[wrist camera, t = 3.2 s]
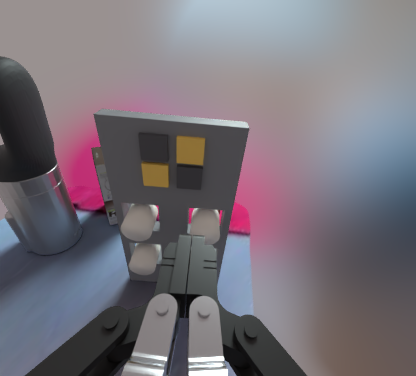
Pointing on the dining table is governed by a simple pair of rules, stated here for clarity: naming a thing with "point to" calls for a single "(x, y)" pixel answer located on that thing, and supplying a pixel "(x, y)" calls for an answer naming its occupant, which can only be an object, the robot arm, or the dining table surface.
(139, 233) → the button top left
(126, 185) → the button panel
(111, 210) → the coffee box
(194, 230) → the button top right
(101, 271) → the dining table surface
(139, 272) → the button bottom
